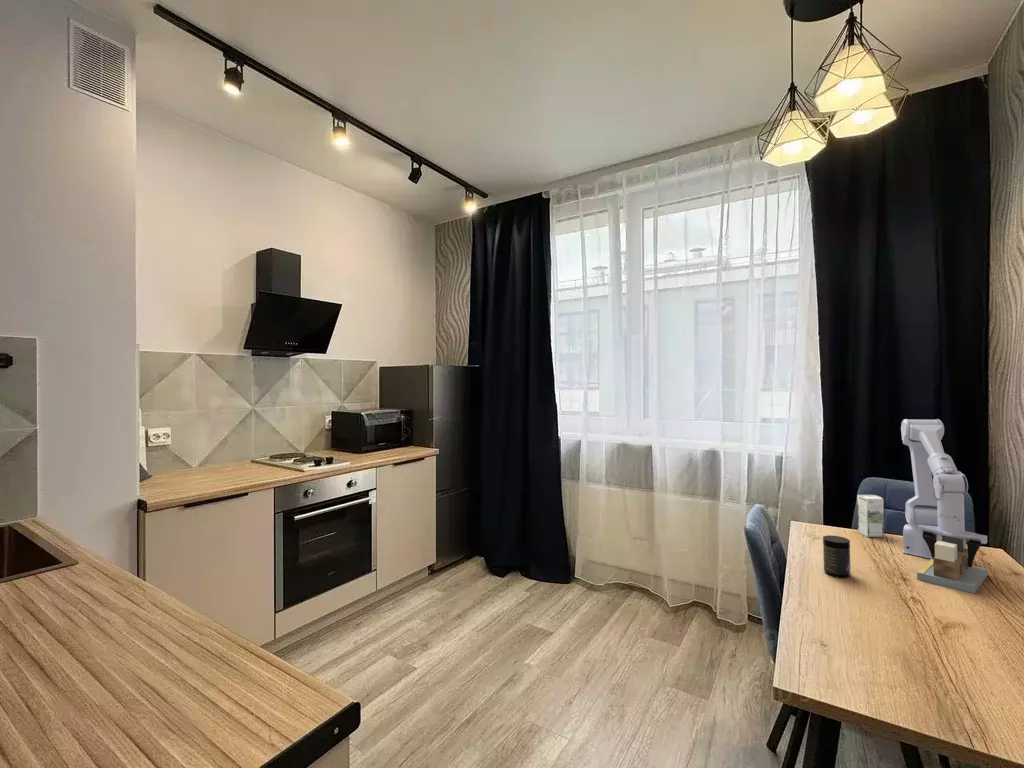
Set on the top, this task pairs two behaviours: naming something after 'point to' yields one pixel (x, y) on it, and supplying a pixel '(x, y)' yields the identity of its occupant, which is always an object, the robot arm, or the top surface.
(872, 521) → the syrup box
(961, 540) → the gray cube
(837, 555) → the supplement container
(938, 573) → the brown piece
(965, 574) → the dock
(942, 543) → the cream block
